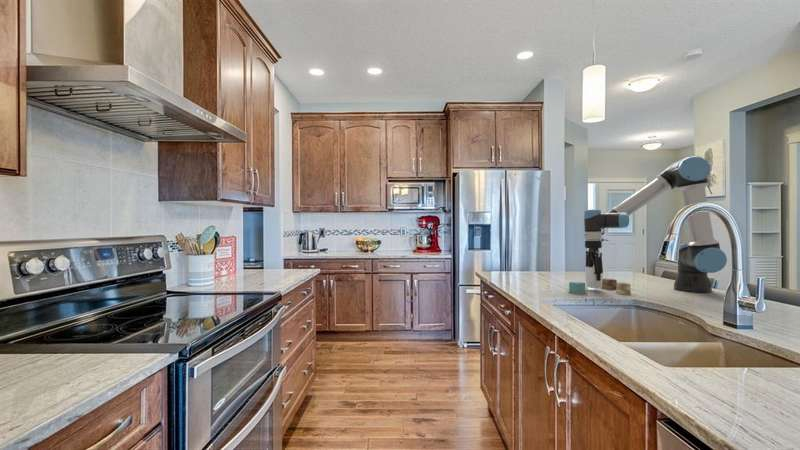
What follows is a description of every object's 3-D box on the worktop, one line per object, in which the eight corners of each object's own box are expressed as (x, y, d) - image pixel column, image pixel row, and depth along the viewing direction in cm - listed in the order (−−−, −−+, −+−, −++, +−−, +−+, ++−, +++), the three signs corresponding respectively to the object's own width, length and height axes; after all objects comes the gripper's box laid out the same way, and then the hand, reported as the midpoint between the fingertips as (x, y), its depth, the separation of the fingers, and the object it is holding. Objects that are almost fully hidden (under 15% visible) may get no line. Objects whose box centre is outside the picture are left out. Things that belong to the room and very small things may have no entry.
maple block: (628, 292, 183) (628, 282, 183) (630, 294, 178) (630, 284, 178) (616, 292, 185) (616, 282, 185) (618, 294, 180) (618, 283, 180)
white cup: (606, 287, 188) (605, 267, 189) (598, 289, 184) (597, 268, 184) (590, 285, 195) (590, 266, 195) (582, 287, 191) (581, 267, 191)
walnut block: (610, 288, 197) (610, 278, 197) (616, 289, 192) (616, 279, 192) (601, 288, 197) (601, 278, 197) (607, 289, 192) (607, 280, 192)
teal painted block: (577, 291, 188) (577, 281, 188) (585, 293, 183) (585, 282, 183) (569, 292, 186) (569, 282, 186) (577, 293, 181) (577, 283, 181)
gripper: (577, 239, 200) (578, 282, 200) (593, 241, 180) (595, 289, 180) (592, 239, 199) (593, 282, 199) (610, 240, 179) (611, 289, 179)
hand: (594, 285), depth 190 cm, fingers closed on white cup, 7 cm apart
